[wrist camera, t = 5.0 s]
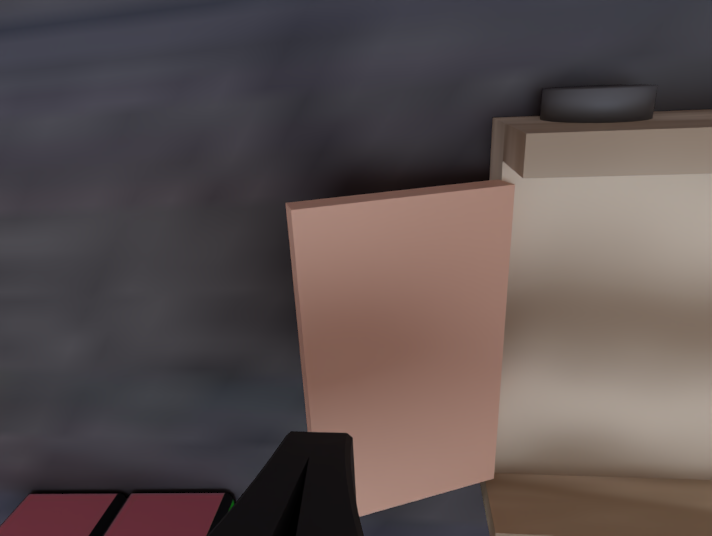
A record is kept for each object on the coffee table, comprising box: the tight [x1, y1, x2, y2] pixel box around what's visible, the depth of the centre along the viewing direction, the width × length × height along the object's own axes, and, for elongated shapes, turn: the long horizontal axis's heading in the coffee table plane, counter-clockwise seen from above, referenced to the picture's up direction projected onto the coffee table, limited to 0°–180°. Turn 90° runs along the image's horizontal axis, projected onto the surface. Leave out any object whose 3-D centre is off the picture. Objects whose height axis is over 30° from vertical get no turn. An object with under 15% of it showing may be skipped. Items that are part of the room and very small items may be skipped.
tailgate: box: [286, 179, 515, 517], centre depth 15 cm, size 1×10×6 cm
